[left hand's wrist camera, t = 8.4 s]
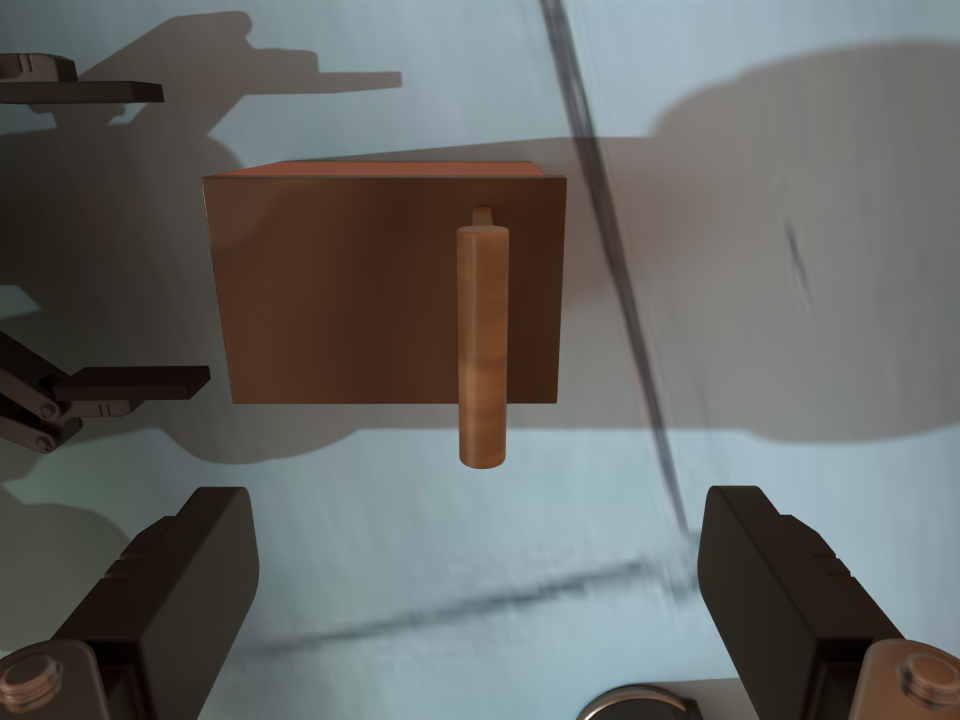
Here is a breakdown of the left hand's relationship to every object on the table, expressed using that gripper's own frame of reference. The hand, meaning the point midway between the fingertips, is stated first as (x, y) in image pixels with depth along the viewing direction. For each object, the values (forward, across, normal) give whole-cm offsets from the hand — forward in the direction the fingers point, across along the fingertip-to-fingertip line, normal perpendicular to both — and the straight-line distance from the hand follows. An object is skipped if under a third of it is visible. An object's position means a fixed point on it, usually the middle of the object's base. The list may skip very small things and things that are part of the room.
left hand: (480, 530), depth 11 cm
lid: (+17, -4, 0) cm, 18 cm away
